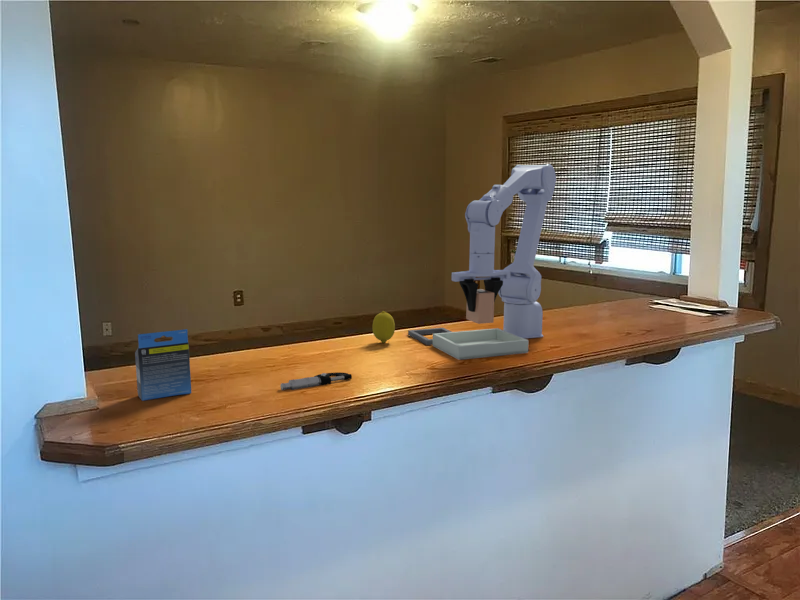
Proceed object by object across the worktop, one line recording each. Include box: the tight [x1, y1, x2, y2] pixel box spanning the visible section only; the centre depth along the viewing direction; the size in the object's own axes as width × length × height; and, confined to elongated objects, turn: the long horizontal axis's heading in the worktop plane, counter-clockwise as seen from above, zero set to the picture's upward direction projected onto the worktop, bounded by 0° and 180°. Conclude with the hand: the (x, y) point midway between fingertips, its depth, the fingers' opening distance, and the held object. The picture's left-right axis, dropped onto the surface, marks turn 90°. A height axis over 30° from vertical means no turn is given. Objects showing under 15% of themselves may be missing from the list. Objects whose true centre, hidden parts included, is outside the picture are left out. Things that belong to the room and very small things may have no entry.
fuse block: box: [465, 288, 495, 325], centre depth 156 cm, size 4×6×7 cm, turn 22°
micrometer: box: [280, 372, 353, 391], centre depth 131 cm, size 15×7×2 cm, turn 120°
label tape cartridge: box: [134, 328, 192, 402], centre depth 121 cm, size 9×4×12 cm, turn 120°
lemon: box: [371, 310, 396, 344], centre depth 163 cm, size 6×6×8 cm
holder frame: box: [407, 327, 453, 346], centre depth 169 cm, size 10×12×1 cm
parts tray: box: [432, 327, 529, 361], centre depth 157 cm, size 18×14×3 cm
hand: (480, 310), depth 156 cm, fingers closed on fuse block, 4 cm apart
